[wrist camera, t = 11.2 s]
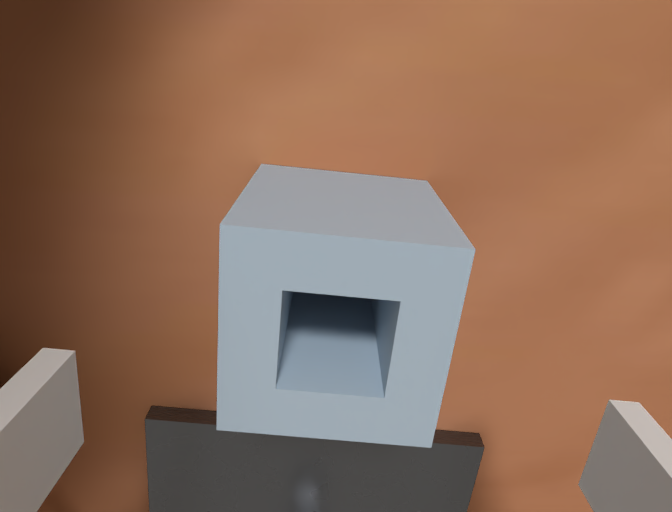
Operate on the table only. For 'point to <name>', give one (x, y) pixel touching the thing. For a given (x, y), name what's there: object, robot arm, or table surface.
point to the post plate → (300, 470)
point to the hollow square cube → (337, 306)
